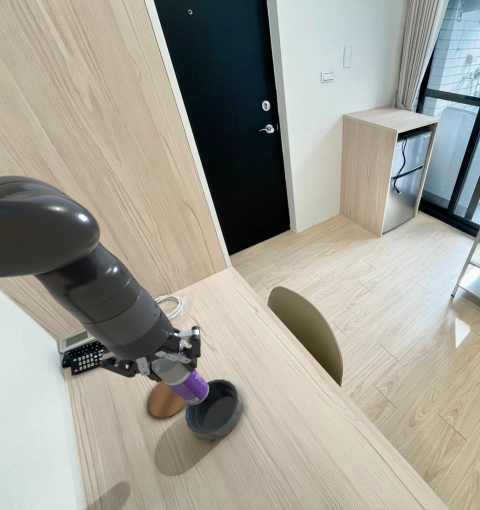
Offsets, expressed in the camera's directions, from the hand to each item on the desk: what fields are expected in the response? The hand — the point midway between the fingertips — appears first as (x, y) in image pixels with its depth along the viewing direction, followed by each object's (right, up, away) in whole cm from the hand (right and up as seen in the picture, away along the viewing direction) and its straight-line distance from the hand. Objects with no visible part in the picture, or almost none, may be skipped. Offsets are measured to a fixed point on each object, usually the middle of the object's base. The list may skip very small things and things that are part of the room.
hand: (177, 371), depth 48 cm
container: (0, -8, +7) cm, 11 cm away
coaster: (-13, -14, +19) cm, 27 cm away
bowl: (0, -17, +16) cm, 23 cm away
